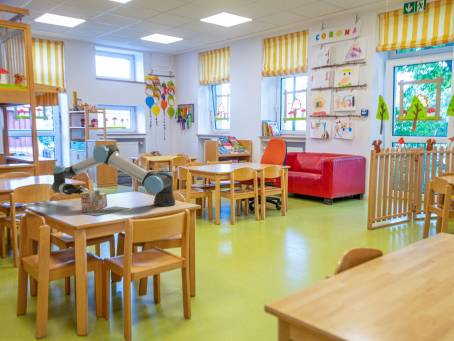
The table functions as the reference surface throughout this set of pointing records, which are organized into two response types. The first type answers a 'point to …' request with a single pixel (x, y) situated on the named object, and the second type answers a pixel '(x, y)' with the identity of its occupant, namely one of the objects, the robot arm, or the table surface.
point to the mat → (106, 211)
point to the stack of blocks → (93, 200)
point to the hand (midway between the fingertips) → (86, 192)
